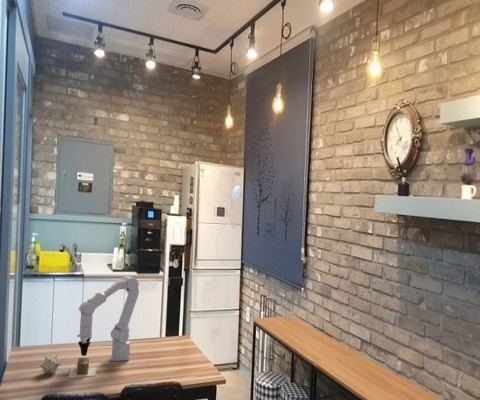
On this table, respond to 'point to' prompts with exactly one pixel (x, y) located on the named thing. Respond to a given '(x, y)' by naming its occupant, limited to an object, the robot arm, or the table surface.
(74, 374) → the mat
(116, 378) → the table surface
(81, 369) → the walnut block
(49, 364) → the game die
